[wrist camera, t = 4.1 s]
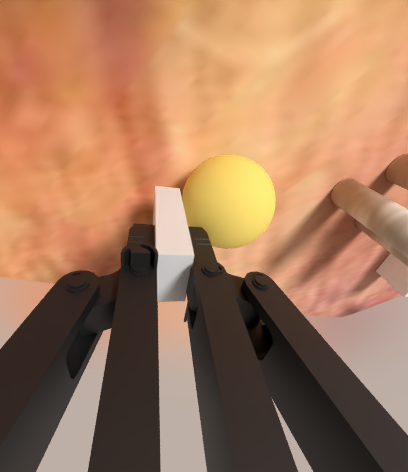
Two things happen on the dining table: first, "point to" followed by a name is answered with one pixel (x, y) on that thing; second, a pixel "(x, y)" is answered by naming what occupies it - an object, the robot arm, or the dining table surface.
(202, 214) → the ball
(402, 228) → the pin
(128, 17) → the dining table surface
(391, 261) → the wall
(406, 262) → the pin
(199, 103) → the dining table surface
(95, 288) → the robot arm
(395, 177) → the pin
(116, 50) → the dining table surface
